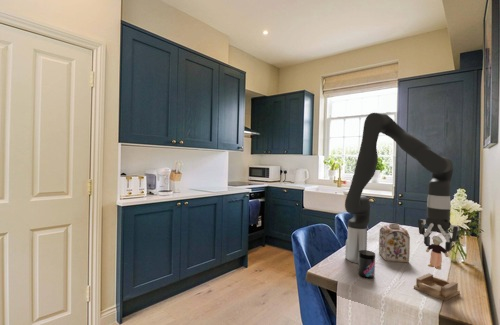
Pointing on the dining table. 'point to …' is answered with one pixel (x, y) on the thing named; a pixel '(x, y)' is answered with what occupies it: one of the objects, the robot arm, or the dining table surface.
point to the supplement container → (366, 264)
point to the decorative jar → (394, 243)
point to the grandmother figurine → (436, 253)
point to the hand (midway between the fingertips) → (437, 248)
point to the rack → (436, 287)
